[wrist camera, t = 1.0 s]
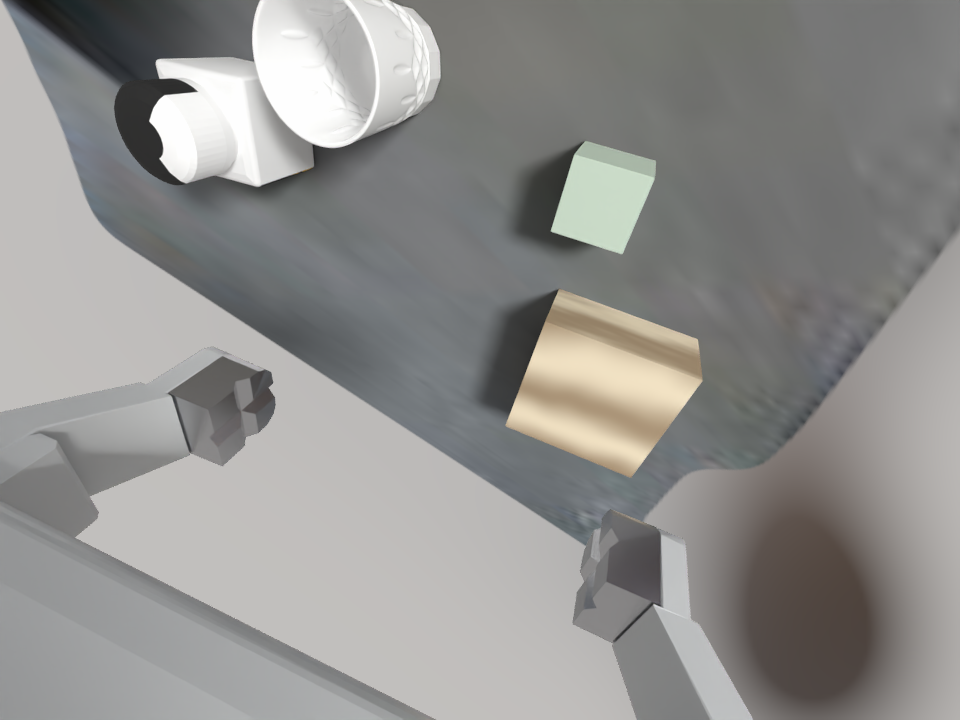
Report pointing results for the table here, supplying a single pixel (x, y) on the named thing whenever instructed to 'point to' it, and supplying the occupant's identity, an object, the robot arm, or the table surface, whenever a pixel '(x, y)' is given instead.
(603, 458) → the beech block
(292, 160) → the medicine bottle
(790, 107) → the table surface
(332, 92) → the white cup
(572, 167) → the sage cube
